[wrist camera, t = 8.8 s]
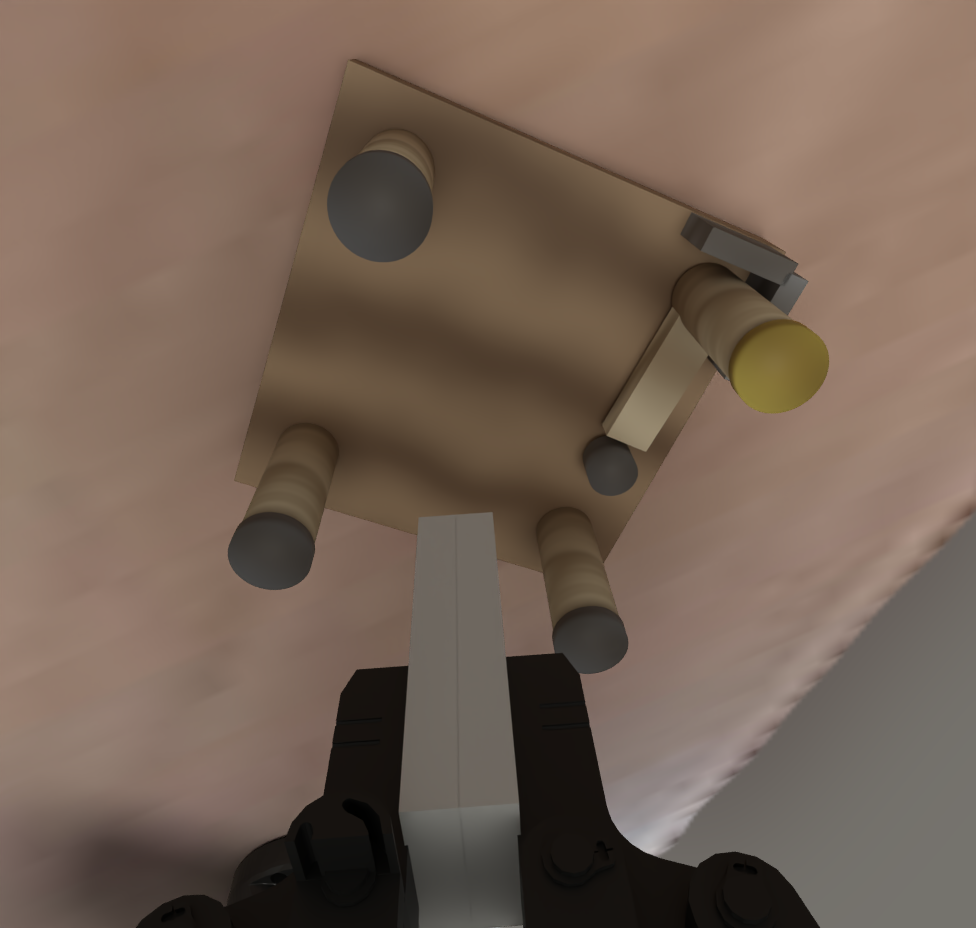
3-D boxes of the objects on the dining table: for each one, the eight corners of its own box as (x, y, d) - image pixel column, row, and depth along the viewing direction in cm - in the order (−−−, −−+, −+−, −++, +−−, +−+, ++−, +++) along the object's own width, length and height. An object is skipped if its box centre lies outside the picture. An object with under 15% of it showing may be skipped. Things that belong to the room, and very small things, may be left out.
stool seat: (582, 559, 43) (621, 708, 34) (246, 456, 39) (177, 593, 29) (764, 239, 34) (889, 314, 25) (355, 59, 30) (309, 63, 20)
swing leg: (621, 486, 38) (665, 597, 30) (567, 464, 37) (597, 573, 29) (754, 278, 33) (848, 349, 25) (694, 248, 32) (772, 312, 24)
